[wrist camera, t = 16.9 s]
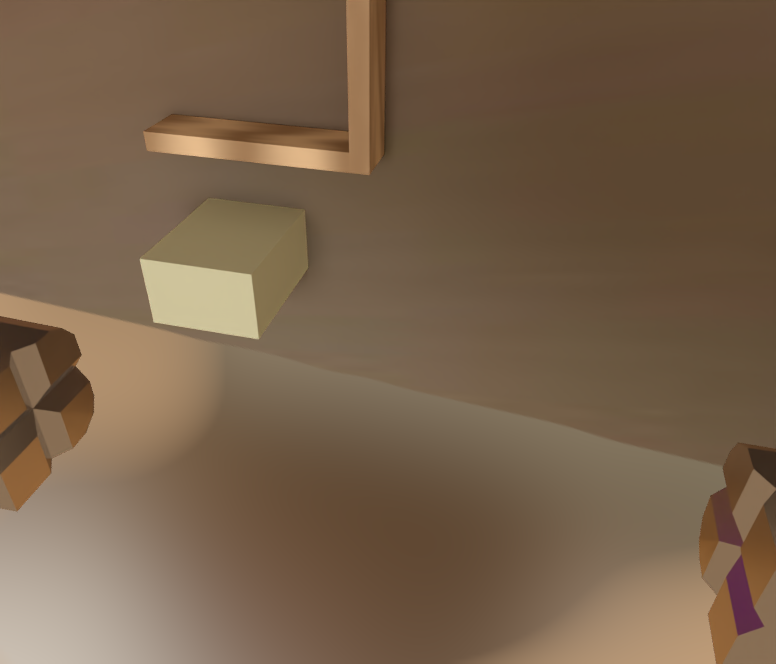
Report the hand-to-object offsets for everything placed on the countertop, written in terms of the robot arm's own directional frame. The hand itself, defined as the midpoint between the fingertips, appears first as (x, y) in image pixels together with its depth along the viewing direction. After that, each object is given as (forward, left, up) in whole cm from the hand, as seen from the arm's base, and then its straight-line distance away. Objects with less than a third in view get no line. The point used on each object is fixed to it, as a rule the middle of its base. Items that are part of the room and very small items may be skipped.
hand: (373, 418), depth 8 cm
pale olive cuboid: (+12, +20, -33) cm, 41 cm away
